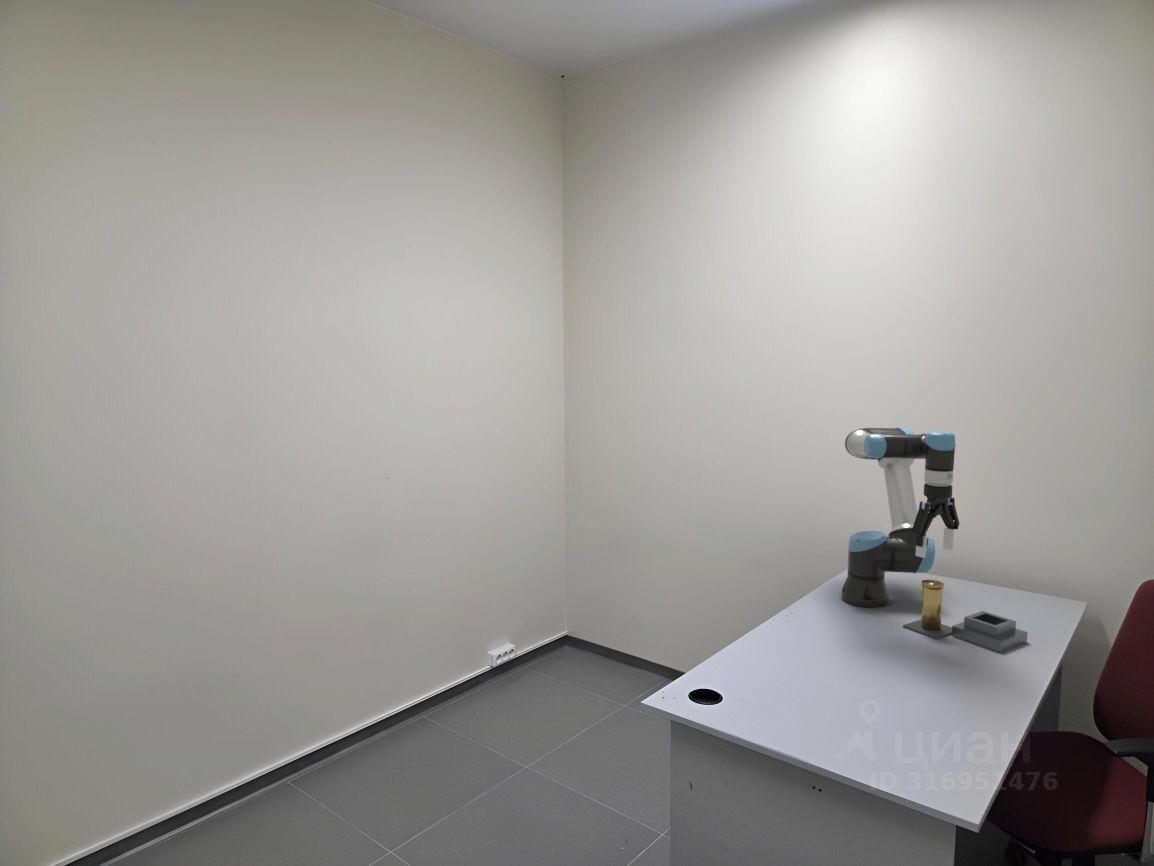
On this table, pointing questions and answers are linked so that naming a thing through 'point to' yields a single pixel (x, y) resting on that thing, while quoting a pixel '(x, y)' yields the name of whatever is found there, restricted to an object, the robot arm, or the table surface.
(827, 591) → the table surface
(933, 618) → the brass flared knob
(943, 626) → the mat
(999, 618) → the housing
